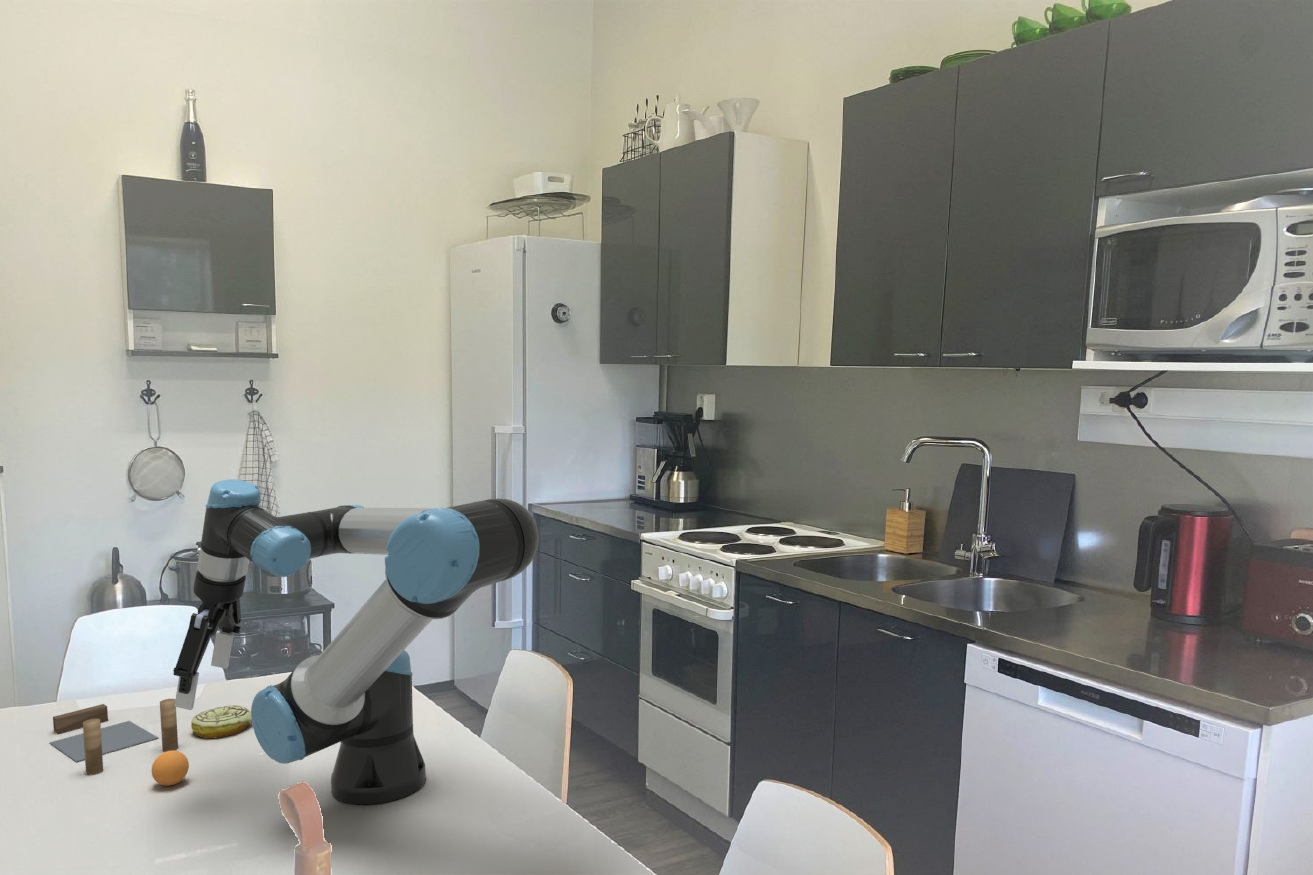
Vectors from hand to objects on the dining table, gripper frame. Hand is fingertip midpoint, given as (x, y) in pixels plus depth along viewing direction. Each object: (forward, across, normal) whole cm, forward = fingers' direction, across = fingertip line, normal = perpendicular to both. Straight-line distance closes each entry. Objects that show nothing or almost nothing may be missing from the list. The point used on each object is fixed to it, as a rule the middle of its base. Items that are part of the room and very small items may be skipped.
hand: (202, 685), depth 160 cm
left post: (+22, -2, -16) cm, 28 cm away
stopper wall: (+30, -24, -30) cm, 49 cm away
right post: (+22, -11, -8) cm, 26 cm away
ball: (+14, +3, -2) cm, 15 cm away
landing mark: (+27, -16, -21) cm, 38 cm away
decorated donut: (+22, -20, -2) cm, 30 cm away
